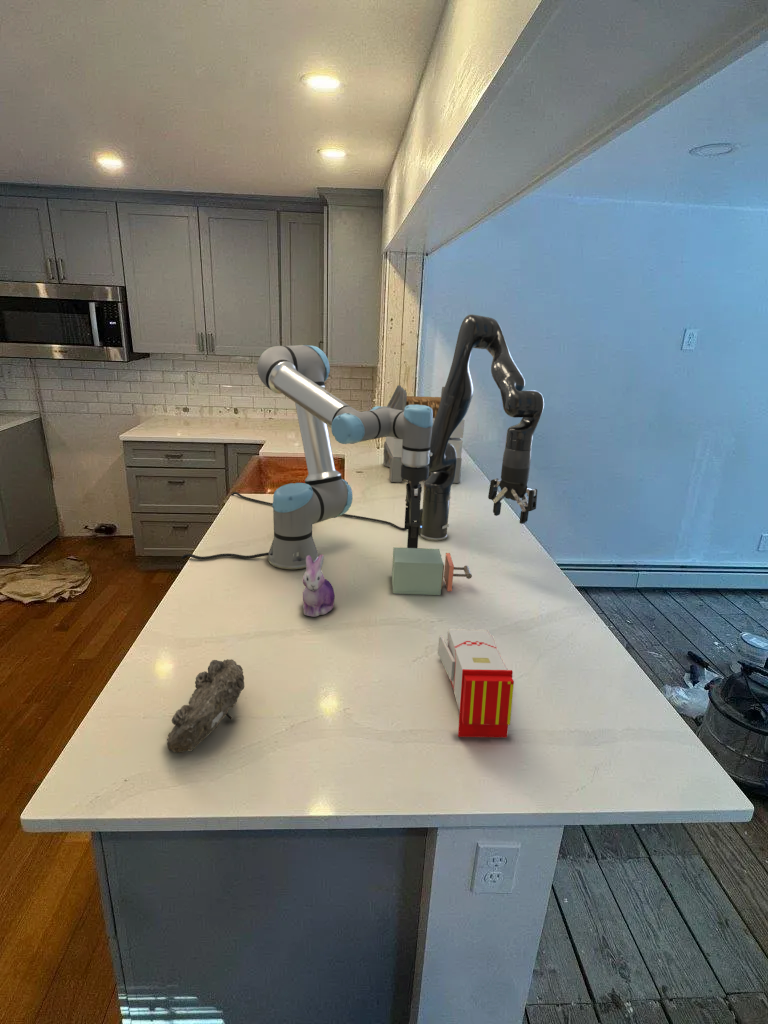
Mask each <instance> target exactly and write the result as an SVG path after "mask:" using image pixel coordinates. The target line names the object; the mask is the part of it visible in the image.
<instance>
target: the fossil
mask: <svg viewBox="0 0 768 1024" xmlns="http://www.w3.org/2000/svg"><path fill="white" fill-rule="evenodd" d="M243 670H244V669H243V667H242V665H240V664H237V662H236V661H235V660H234V659H232V658H231V659H227V658H226V659H224V660H223V661H222V660H217V659H212V660H211V661H210V663H209V665H208V666H207V671H201V672H199V673H198V674H197V675H196V676H195V680H194V684H195V685H194V687H195V689H194V690H193V693H192V694H191V697H190V698H189V700H188V704H184V705H182V706H181V707H180V709H177V710H176V711H175V713H174V715H173V716H172V718H171V723H172V724H173V727H172V730H171V731H170V732H168V734H167V738H166V741H167V742H166V745H167V749H168V750H169V751H173V752H174V753H176V754H178V753H182V752H188V751H189V752H192V751H193V750H195V748H196V747H197V746H199V744H200V743H201V742H203V741H204V740H205V739H206V738H207V737H208V736H209V735H210V734H211V733H212V732H214V730H215V729H217V727H218V726H219V724H220V722H221V721H222V720H223V719H224V718H225V716H226V717H227V719H229V720H233V717H232V715H230V714H229V710H230V709H231V708H234V706H235V704H236V703H237V702H238V699H239V697H240V695H241V693H242V691H243V690H245V689H244V688H245V675H244V671H243Z"/></svg>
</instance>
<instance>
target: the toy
mask: <svg viewBox="0 0 768 1024" xmlns="http://www.w3.org/2000/svg"><path fill="white" fill-rule="evenodd" d="M446 640H447V643H446V641H445V639H444V636H443V635H442V634H439V637H438V646H437V656H438V657H439V659H440V661H441V663H442V666H443V668H444V670H445V672H446V674H447V677H448V679H449V681H450V684H451V687H452V690H453V693H454V697H455V701H456V705H457V708H458V711H459V714H458V715H459V716H458V730H457V731H458V732H457V737H458V738H508V731H509V726H510V725H511V717H512V707H513V697H514V696H513V695H514V684H515V680H514V679H513V673H514V671H513V670H512V669H508V667H507V665H506V662H505V661H504V659H503V658H502V655H501V653H500V651H499V649H498V647H497V643H496V639H495V637H494V635H493V634H491V632H490V631H489V629H467V628H466V629H465V628H463V629H461V628H460V629H459V628H448V630H447V639H446Z"/></svg>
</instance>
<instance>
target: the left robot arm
mask: <svg viewBox="0 0 768 1024" xmlns="http://www.w3.org/2000/svg"><path fill="white" fill-rule="evenodd" d="M256 368H257V371H256V372H257V374H258V377H259V379H260V381H261V383H262V384H263V385H264V386H265V387H266V388H267V389H269V390H270V391H272V392H273V393H275V394H279V395H280V394H282V395H284V397H286V398H288V399H290V400H291V401H292V402H293V403H294V405H295V410H296V416H297V421H298V427H299V431H300V438H301V442H302V447H303V453H304V458H305V462H306V470H307V473H308V474H307V476H306V477H305V479H304V482H295V483H293V482H290V483H287V484H283V485H281V486H279V487H278V488H276V489H275V490H274V492H273V496H272V497H273V498H272V503H273V504H272V505H271V506H272V513H273V514H272V517H273V519H272V520H273V538H272V542H271V545H270V547H269V551H268V552H262V553H256V554H250V555H243V554H237V553H227V552H226V553H217V554H213V555H205V556H200V555H199V556H198V555H196V554H194V553H193V554H192V553H185V554H182V556H181V557H180V559H185V558H188V557H189V558H192V559H196V560H200V561H202V560H212V559H217V558H224V557H225V558H226V557H232V558H238V559H245V560H246V559H247V560H248V559H255V558H261V557H268V563H269V564H270V565H271V566H272V567H274V568H277V569H281V570H288V571H289V570H291V571H293V570H296V571H297V570H303V569H306V557H307V556H308V555H310V556H311V558H312V560H313V562H315V561H316V560H317V558H318V557H319V550H318V549H317V545H316V543H315V540H314V537H313V525H314V524H318V523H320V522H323V521H327V520H329V519H330V520H331V519H336V518H338V517H341V516H340V515H343V514H347V512H349V510H350V508H351V507H352V503H353V490H352V487H351V485H350V484H348V483H349V482H348V481H347V480H345V479H343V477H342V473H341V472H340V471H338V470H337V469H336V466H335V461H334V460H335V459H334V456H333V450H332V449H333V448H332V443H331V438H330V433H329V428H331V429H330V430H331V434H332V436H333V437H334V439H335V441H336V442H337V443H339V444H341V445H347V444H348V445H349V444H350V445H352V444H353V445H355V444H358V443H362V442H367V441H370V440H372V441H373V440H378V439H382V438H386V437H394V438H398V439H403V441H402V457H401V462H402V463H403V464H402V465H401V478H402V480H404V481H407V483H406V484H405V491H406V492H405V509H404V511H405V512H404V513H405V514H404V526H403V528H404V529H407V542H406V548H419V546H418V545H419V535H418V533H419V526H420V510H421V500H422V491H423V487H422V483H420V482H425V481H426V480H427V479H428V478H429V476H430V472H429V466H428V464H429V462H430V457H429V456H432V453H431V452H430V449H431V446H430V444H431V435H432V426H433V410H432V408H431V407H429V406H425V405H407V406H406V407H405V409H404V411H402V410H398V409H393V408H388V407H387V405H386V406H381V405H375V406H373V407H372V408H371V409H370V410H365V411H364V410H363V411H359V410H357V409H355V408H354V407H352V406H351V405H349V404H348V403H346V402H344V401H343V400H342V399H340V398H339V397H337V396H335V394H333V393H331V392H329V391H328V390H326V384H325V382H326V381H327V380H328V379H329V374H330V372H331V367H330V362H329V359H328V356H327V355H326V353H325V352H324V351H323V350H322V349H321V348H320V347H318V346H315V345H308V344H299V345H297V344H296V345H274V346H271V347H268V348H267V349H265V350H264V351H263V352H262V353H261V354H260V356H259V358H258V360H257V367H256ZM416 521H417V522H416Z"/></svg>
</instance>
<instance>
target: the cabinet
mask: <svg viewBox="0 0 768 1024" xmlns="http://www.w3.org/2000/svg"><path fill="white" fill-rule="evenodd" d="M392 550H393V551H392V567H391V570H392V571H391V585H392V594H393V595H394V594H398V595H425V596H426V595H429V596H441V595H442V594H441V593H442V589H441V584H442V573H443V564H444V562H443V557H441V556H442V554H441V550H440V548H427V547H426V548H424V547H417V548H407V547H397V546H395V547H393V548H392Z"/></svg>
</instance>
